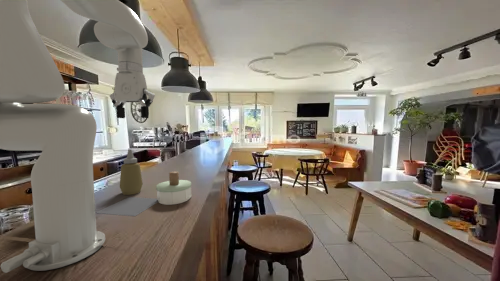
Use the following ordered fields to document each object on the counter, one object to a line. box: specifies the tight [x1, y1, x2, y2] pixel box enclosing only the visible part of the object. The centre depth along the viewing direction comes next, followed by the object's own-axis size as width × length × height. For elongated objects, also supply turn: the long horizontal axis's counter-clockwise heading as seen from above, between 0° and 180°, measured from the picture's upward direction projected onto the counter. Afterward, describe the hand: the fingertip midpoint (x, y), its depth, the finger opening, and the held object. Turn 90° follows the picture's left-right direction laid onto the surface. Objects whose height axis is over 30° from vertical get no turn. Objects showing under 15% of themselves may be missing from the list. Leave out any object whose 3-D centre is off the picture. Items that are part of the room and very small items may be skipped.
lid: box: [155, 171, 192, 192], centre depth 72 cm, size 12×12×5 cm
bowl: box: [156, 186, 192, 206], centre depth 72 cm, size 11×11×5 cm
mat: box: [95, 196, 159, 217], centre depth 66 cm, size 14×14×1 cm
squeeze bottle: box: [119, 149, 144, 196], centre depth 79 cm, size 8×8×18 cm
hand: (132, 118), depth 71 cm, fingers open, 9 cm apart
